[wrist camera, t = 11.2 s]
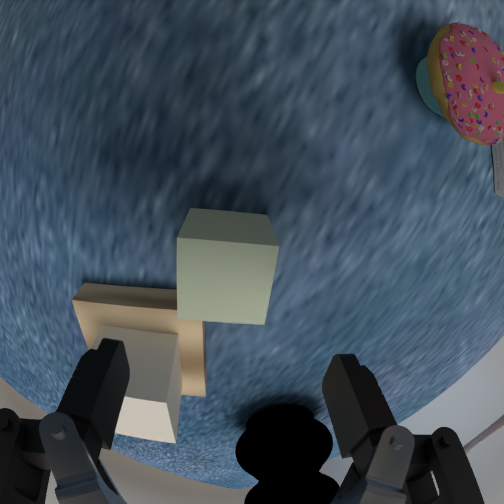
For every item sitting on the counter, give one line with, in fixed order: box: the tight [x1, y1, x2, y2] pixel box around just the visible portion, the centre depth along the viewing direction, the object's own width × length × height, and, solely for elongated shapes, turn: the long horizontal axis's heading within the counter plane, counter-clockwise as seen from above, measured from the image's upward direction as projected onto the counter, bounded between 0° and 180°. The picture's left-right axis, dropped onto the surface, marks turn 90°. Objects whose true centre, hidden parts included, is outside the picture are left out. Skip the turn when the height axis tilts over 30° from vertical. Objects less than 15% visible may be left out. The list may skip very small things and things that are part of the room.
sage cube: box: [177, 208, 279, 325], centre depth 17 cm, size 5×5×5 cm
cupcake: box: [416, 22, 504, 145], centre depth 9 cm, size 9×8×12 cm
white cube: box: [91, 325, 182, 443], centre depth 17 cm, size 6×6×6 cm
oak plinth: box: [72, 283, 207, 396], centre depth 21 cm, size 10×10×3 cm
